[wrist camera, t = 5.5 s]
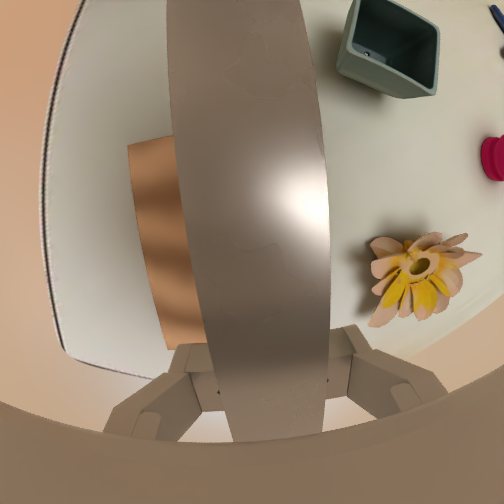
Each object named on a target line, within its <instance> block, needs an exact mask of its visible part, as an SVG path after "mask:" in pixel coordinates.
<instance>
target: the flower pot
mask: <svg viewBox="0 0 504 504" xmlns="http://www.w3.org/2000/svg"><path fill="white" fill-rule="evenodd" d="M439 50H440V31H439V28H438V27H437V26H436V25H435V24H433V23H432V22H430V21H428V20H427V19H425V18H424V17H422V16H420V15H418V14H417V13H415V12H413V11H411V10H410V9H408V8H406V7H404V6H402V5H400V4H398V3H397V2H395V1H393V0H353V2H352V5H351V7H350V10H349V12H348V15H347V19H346V24H345V28H344V33H343V38H342V42H341V46H340V50H339V54H338V58H337V62H336V70H337V71H338V73H340V74H341V75H343V76H345V77H348V78H350V79H353V80H355V81H358V82H360V83H362V84H365V85H367V86H369V87H371V88H373V89H375V90H378V91H380V92H382V93H384V94H386V95H389V96H392V97H395V98H401V99H408V98H417V97H424V96H433V95H435V94H436V91H437V81H438V66H439ZM365 52H367V53H368V54H369V56H366V55H365Z"/></svg>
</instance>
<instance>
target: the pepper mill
mask: <svg viewBox="0 0 504 504" xmlns="http://www.w3.org/2000/svg"><path fill="white" fill-rule="evenodd" d="M481 159H482V164H483V168H484V170H485V173H486V174H487V176H488V177H489V178H490V179H492V180H496V181H504V135H502V136H501V138H498V137H490V138H487V139H486V140H485V141H484V143H483V145H482V150H481Z"/></svg>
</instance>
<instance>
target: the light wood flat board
mask: <svg viewBox="0 0 504 504" xmlns="http://www.w3.org/2000/svg"><path fill="white" fill-rule="evenodd" d="M128 157H129V166H130V175H131V183H132V190H133V197H134V204H135V211H136V217H137V223H138V228H139V234H140V239H141V245H142V250H143V255H144V259H145V264H146V269H147V273H148V278H149V282H150V286H151V290H152V295H153V299H154V302H155V306H156V310H157V314H158V318H159V321H160V325H161V328H162V332H163V335H164V339H165V342H166V345H167V349H168V350H176V348H177V345H179V344H187V343H207V338H206V334H205V329H204V325H203V320H202V316H201V311H200V306H199V301H198V296H197V291H196V286H195V281H194V275H193V270H192V265H191V259H190V253H189V247H188V241H187V235H186V229H185V223H184V216H183V210H182V203H181V196H180V188H179V181H178V173H177V165H176V156H175V147H174V137H173V136H168V137H163V138H158V139H153V140H149V141H144V142H140V143H136V144H132V145H128Z"/></svg>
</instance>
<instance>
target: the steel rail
mask: <svg viewBox="0 0 504 504" xmlns="http://www.w3.org/2000/svg"><path fill="white" fill-rule="evenodd" d="M167 54H168V75H169V90H170V104H171V116H172V127H173V137H174V147H175V156H176V165H177V173H178V181H179V188H180V196H181V203H182V210H183V216H184V223H185V229H186V235H187V241H188V247H189V253H190V259H191V265H192V270H193V275H194V281H195V286H196V291H197V296H198V301H199V306H200V311H201V316H202V320H203V325H204V329H205V334H206V338H207V343H208V347H209V351H210V356H211V360H212V364H213V368H214V372H215V376H216V380H217V384H218V388H219V392H220V395H221V399H222V403H223V406H224V410H225V414H226V417H227V420H228V424H229V428H230V431H231V434H232V438H233V441H234V442H248V441H262V440H272V439H282V438H290V437H297V436H303V435H310V434H316V433H321V432H322V426H323V417H324V408H325V397H326V386H327V372H328V356H329V336H330V295H331V268H330V228H329V207H328V191H327V177H326V165H325V154H324V144H323V134H322V126H321V117H320V110H319V102H318V95H317V88H316V82H315V76H314V70H313V64H312V58H311V53H310V47H309V42H308V37H307V32H306V28H305V23H304V18H303V14H302V10H301V6H300V1H299V0H167Z"/></svg>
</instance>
